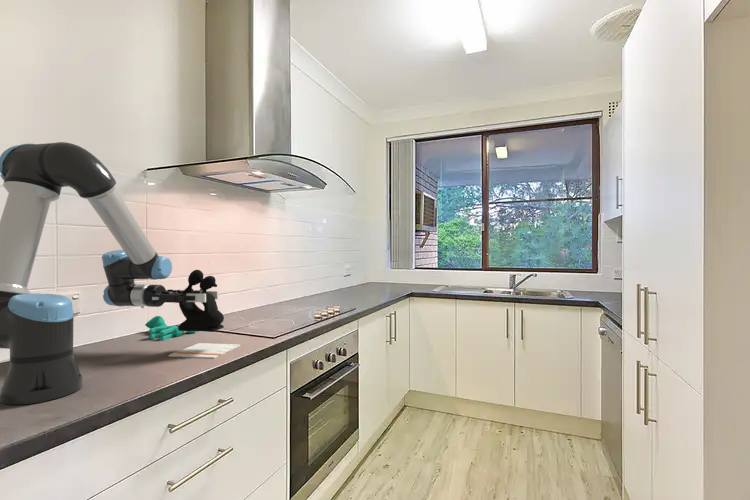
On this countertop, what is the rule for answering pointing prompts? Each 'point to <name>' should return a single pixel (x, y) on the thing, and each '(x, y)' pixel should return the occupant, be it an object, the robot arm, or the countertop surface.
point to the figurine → (195, 315)
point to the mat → (204, 350)
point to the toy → (163, 329)
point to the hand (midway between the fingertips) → (211, 296)
